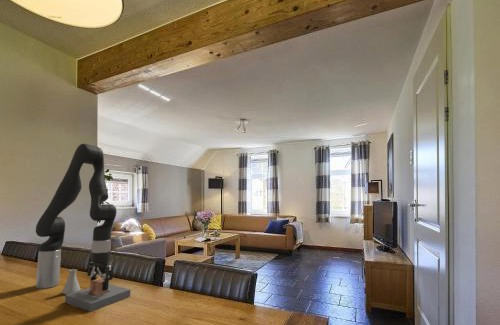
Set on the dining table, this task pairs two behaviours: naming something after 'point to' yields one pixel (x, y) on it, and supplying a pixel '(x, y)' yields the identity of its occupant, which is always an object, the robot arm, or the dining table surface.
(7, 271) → the dining table surface
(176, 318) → the dining table surface
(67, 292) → the flask
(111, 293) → the charcoal base
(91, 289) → the terracotta block
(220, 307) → the dining table surface
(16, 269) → the dining table surface
